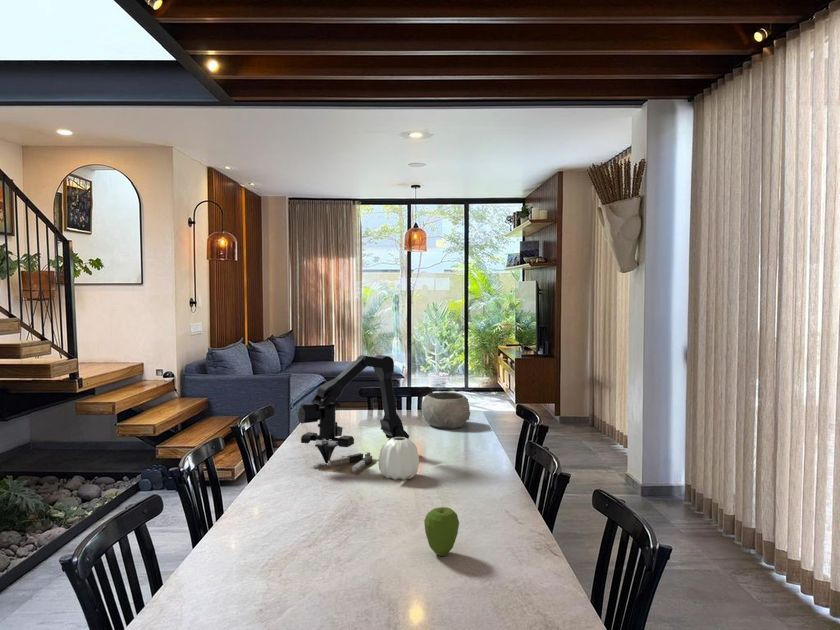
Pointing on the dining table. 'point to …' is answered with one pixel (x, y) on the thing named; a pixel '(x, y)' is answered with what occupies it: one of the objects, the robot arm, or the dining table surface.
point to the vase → (399, 459)
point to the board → (347, 467)
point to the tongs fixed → (362, 463)
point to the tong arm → (345, 460)
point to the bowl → (446, 409)
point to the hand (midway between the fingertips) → (327, 463)
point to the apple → (441, 529)
